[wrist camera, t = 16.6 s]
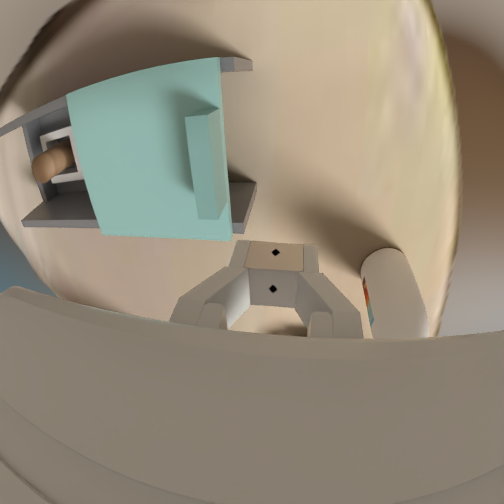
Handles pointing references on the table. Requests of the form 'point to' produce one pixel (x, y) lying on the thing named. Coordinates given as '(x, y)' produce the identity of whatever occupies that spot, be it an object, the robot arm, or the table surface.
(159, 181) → the lid
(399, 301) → the milk bottle
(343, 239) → the table surface
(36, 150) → the housing
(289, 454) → the robot arm
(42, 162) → the tan rounded cylinder
